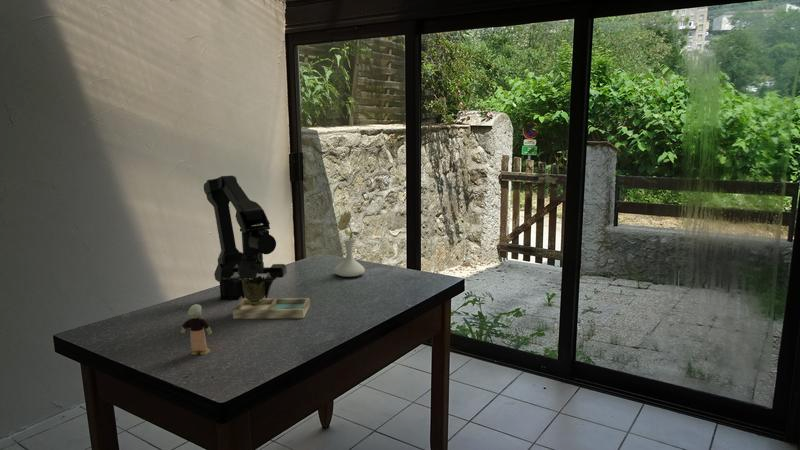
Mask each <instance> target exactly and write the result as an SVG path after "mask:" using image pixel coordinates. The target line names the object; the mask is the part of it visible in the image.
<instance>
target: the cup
mask: <svg viewBox="0 0 800 450" xmlns="http://www.w3.org/2000/svg"><path fill="white" fill-rule="evenodd" d="M265 278H266V277H265V276H263V277H262V276H261V275H258V276H256V278H254V279H250V278H244V279H243V280H241V282H242V287H243V292H244V296H245V298H244V299H247V300H249V303H250V305H252V306H258V305H260V304H261V302H262V301H261V299H265V284H266V282H265Z"/></svg>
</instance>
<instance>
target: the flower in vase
mask: <svg viewBox="0 0 800 450" xmlns="http://www.w3.org/2000/svg"><path fill="white" fill-rule="evenodd" d="M351 219H352V213H351V211H350V210H348V211H347V210H346V211H344V212H343V214H341V215H340V218H339V220H338V221H337V229H338V231H339V232H340V231H343V230H344V234H346V235H347V236H349V237H345V238H342V242H343V243H344V245H345V252H346V253H345V255H346V256H345V258H344V260H343V261H341V263H339V264H337V266H336V267H335V269H334V273H335V274H336V275H338V276H341V277H345V278H346V277H347V278H348V277H349V278H350V277H357V276H360V275H362V274H364V273H365V270H366V269H365V267H364V266H363V264H360V263H359V262H358V261H357V260H355V258H354V256H353V247H354V244H355V241H356V238H355V237H353V234H354V232H353V231H352V228H351V226H350V224H349V223H350V222H351ZM347 227H348V228H349V229H350V230H348V229H347Z"/></svg>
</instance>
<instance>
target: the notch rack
mask: <svg viewBox="0 0 800 450" xmlns="http://www.w3.org/2000/svg"><path fill="white" fill-rule="evenodd" d="M261 301H262V302H261V304H260V305H258V306H252V305H250V303H249V300H247V299H246V298H244V299H243V298H242V299H241V300H240V302H238V304H237V305H236V306H235V307H234V308H233V309H232V318H233V319H235V320H237V319H238V320H239V319H241V320H242V319H247V320H248V319H304V318H305V316H306V315H307V312H308V310H309V308H310V304H311V303H310V298H308V297H307V298H305V297H304V298H303V297H302V298H301V297H300V298H299V297H297V298H296V297H294V298H289V297H288V298H282V297H281V298H263V299H261Z"/></svg>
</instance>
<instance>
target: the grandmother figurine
mask: <svg viewBox="0 0 800 450" xmlns="http://www.w3.org/2000/svg"><path fill="white" fill-rule="evenodd" d="M202 310H203V309H202V305H201V304H197V303H195V304H193V305H191V306H190V307H189V309H188V311H187V313H186V314H187V315H188V316H190V317H191V318H189V319H187V320H185V322H184V323H183V324H182V326H181V327H182V328H181V330H180V333H182V334H185V333H186V330H187V329H188V330H189V329H190V331H189V332H190V334H189V337H190V338H189V339H190V340H189V341H190V345H191V355H192V356H196V355H198V354H199V355H201V356H205V355H207V354H209V353H211V349H210V348H208V347H207V339H206V333H205V331H206V332H207V335H212V333H213V332H212V330H211V327H210V325H209V323H208V322H207V321H206V320H205V319H204V318H201V316H202Z"/></svg>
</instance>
